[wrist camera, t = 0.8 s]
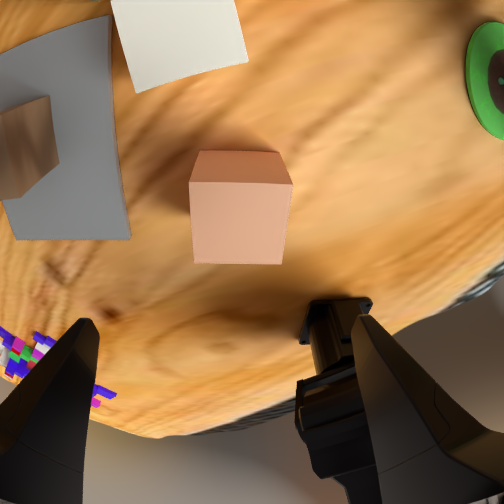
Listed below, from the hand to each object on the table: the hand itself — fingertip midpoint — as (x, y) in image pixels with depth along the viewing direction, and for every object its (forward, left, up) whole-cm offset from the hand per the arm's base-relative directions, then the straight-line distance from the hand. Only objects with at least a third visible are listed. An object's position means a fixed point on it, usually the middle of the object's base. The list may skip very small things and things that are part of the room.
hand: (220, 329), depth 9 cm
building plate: (+3, +13, -12) cm, 18 cm away
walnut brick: (+4, +14, -11) cm, 19 cm away
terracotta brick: (-1, -1, -12) cm, 12 cm away
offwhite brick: (+9, +2, -12) cm, 15 cm away
